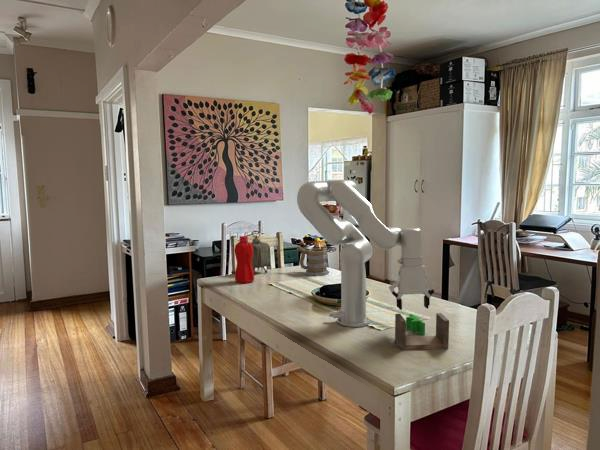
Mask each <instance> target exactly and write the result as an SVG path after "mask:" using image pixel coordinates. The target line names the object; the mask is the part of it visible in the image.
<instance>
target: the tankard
mask: <svg viewBox="0 0 600 450" xmlns="http://www.w3.org/2000/svg"><path fill="white" fill-rule="evenodd" d="M296 251H297V252H299V251H300V252H301V254H300V258H299V265H300V267H301V269H303V270H305V274H306V275H308V276H313V277H320V276H322V277H323V276H326V275H329V274H330V271H329V270H328V269H327V268H328V266H329V265H328V264H329V263H328V262H327V259H328V257H329V256H328V253H327V250H326V249H325V248H310V249H306V248H305V249H304V248H303V247H301V246H299V247H296ZM305 257H306V259H307V262H306V265H305V264H304V262H305Z"/></svg>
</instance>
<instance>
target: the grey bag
mask: <svg viewBox="0 0 600 450" xmlns="http://www.w3.org/2000/svg"><path fill="white" fill-rule="evenodd" d="M254 233H258V234H259V236H257V235H254ZM251 236H252V237H253V239H252V240H251V242H250V243H251V244H252V246H253V250H254V251H253V256H252V267H253V271H254V274H255V273H256V269H259V268H262V269H263V270H264V273H265V274H266V273H268V270H266V268H265V267H268V266H270V263H271V251H270V250H271V249H270V245H269V244H268V243H267V242H262V241H261V239H260V237H261V232H259V231H258V230H253V231H252V232H251Z"/></svg>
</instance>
